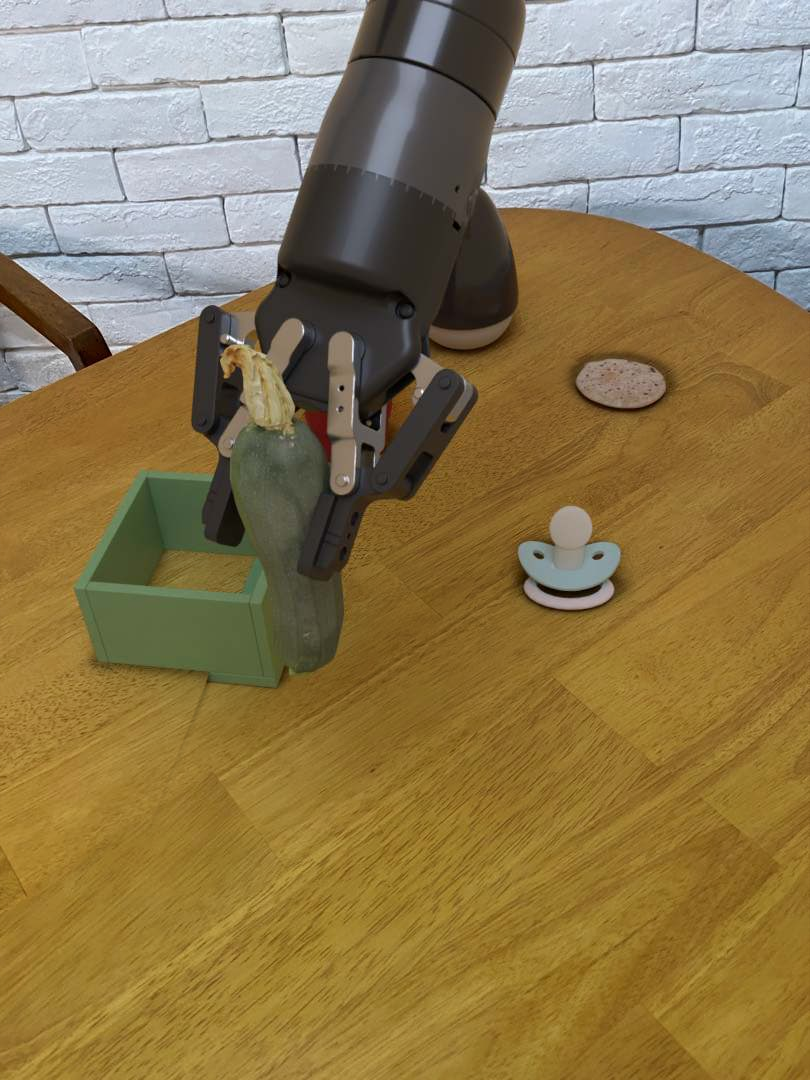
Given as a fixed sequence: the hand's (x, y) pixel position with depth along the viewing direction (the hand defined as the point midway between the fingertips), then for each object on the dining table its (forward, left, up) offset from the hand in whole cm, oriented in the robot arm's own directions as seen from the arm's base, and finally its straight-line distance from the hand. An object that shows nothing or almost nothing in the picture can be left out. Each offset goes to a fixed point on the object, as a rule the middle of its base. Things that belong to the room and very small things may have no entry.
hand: (266, 558), depth 50 cm
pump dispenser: (+1, +59, -24) cm, 63 cm away
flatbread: (+16, +51, -24) cm, 58 cm away
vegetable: (0, +2, -10) cm, 10 cm away
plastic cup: (-6, +40, -24) cm, 47 cm away
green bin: (-12, +19, -24) cm, 33 cm away
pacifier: (+13, +25, -24) cm, 37 cm away
